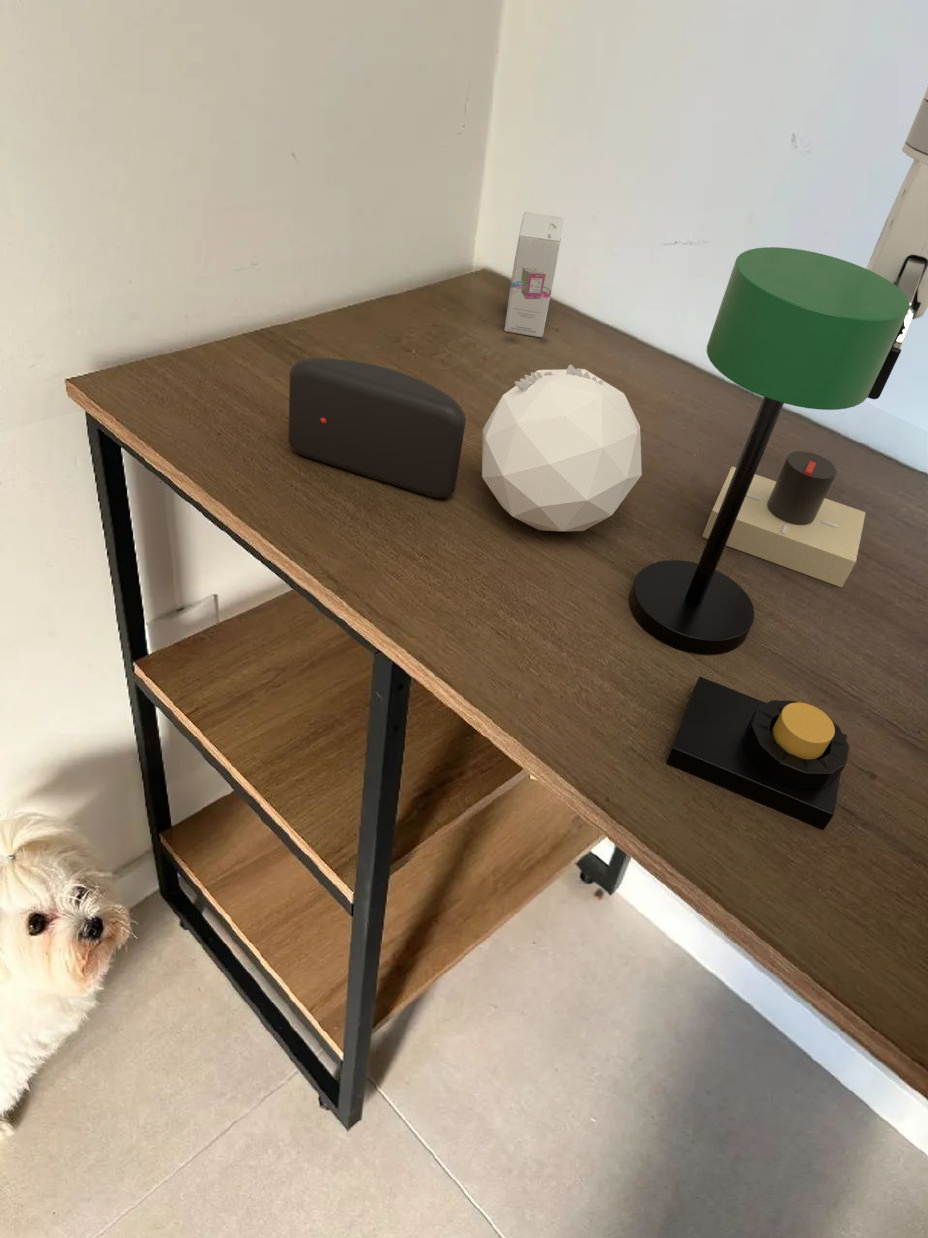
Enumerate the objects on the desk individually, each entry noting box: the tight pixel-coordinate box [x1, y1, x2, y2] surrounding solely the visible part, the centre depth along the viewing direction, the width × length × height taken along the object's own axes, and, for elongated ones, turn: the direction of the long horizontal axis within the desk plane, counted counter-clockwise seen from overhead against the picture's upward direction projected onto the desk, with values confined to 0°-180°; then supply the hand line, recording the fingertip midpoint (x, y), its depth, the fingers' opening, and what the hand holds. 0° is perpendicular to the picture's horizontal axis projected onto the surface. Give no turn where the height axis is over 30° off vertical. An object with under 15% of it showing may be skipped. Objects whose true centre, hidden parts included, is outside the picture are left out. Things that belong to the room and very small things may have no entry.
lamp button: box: [773, 702, 835, 759], centre depth 63 cm, size 4×4×2 cm
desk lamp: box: [628, 246, 910, 656], centre depth 68 cm, size 11×11×28 cm
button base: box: [666, 675, 850, 831], centre depth 65 cm, size 11×8×4 cm
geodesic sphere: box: [481, 364, 643, 532], centre depth 80 cm, size 15×14×14 cm
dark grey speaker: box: [287, 357, 467, 499], centre depth 83 cm, size 16×5×9 cm, turn 71°
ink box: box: [503, 211, 564, 338], centre depth 112 cm, size 9×5×12 cm, turn 174°
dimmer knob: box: [767, 450, 837, 525], centre depth 84 cm, size 4×4×5 cm
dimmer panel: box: [701, 466, 866, 588], centre depth 86 cm, size 13×9×3 cm
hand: (863, 369), depth 75 cm, fingers open, 9 cm apart
